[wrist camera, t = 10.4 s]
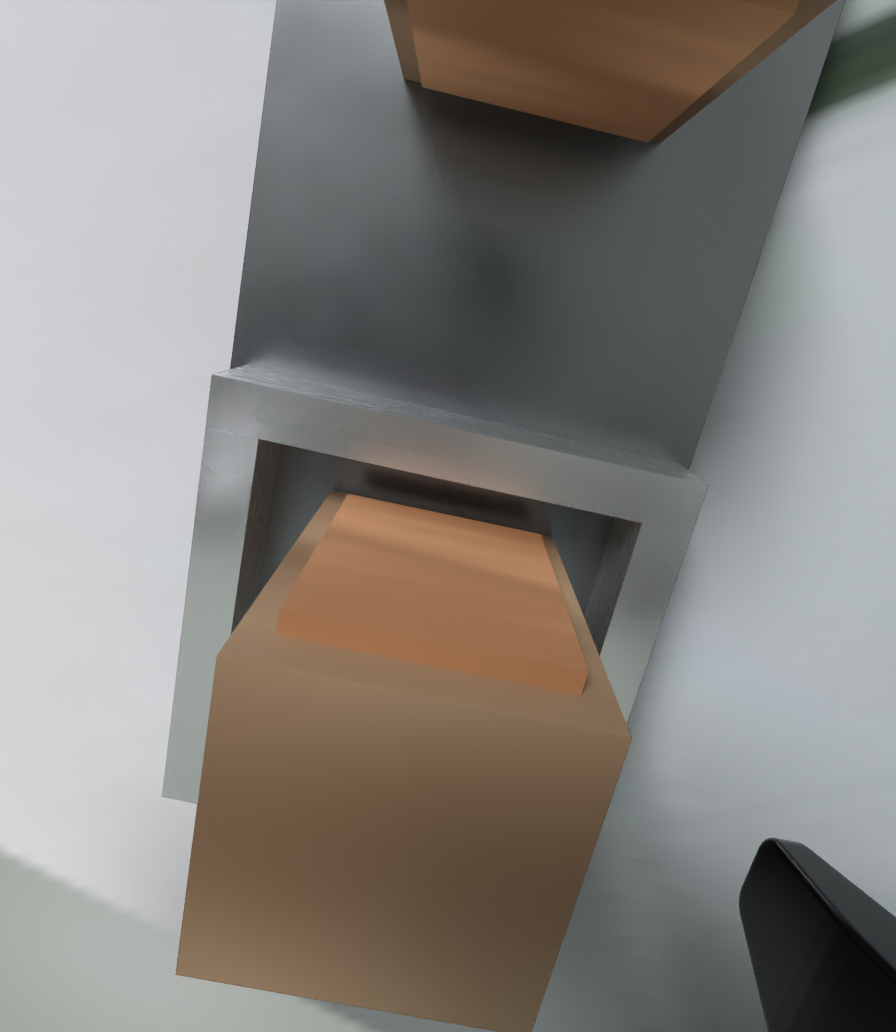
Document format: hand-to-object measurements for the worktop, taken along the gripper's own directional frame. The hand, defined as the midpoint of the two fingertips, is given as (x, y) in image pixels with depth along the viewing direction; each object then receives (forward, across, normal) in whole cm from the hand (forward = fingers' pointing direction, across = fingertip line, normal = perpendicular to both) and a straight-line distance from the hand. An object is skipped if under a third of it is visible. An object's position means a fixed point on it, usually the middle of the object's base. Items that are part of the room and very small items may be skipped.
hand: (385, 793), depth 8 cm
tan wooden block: (+5, 0, 0) cm, 5 cm away
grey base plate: (+7, 0, -4) cm, 8 cm away
